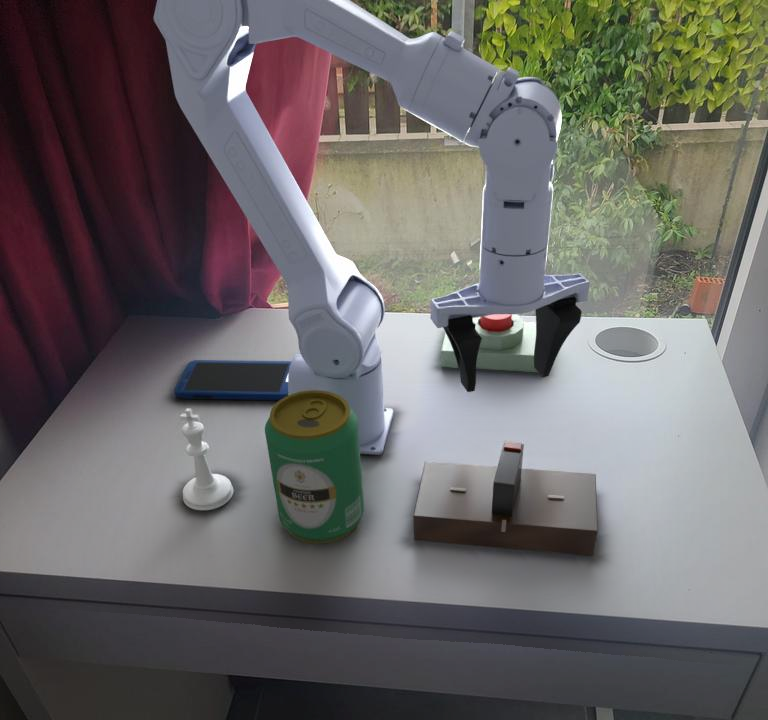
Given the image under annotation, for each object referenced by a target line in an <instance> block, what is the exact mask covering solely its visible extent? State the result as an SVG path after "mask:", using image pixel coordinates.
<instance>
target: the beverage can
mask: <svg viewBox="0 0 768 720" xmlns="http://www.w3.org/2000/svg"><path fill="white" fill-rule="evenodd" d="M264 434H265V441H266V446H267V453H268V458H269V464H270V471H271V477H272V482H273V489H274V495H275V500H276V507H277V513H278V518H279V521H280V523H281V525H282V526H283V527H284V528H285V529H286V531H288V533H289V534H290V535H291V536H293V537H294V538H295V539H297V540H299V541H302V542H305V543H310V544H317V545H318V544H328V543H333V542H337V541H339V540H342V539H344V538H345V537H347V536H348V535H350V534H351V533H352V532H353V531H354V530H355V529H356V528H357V527H358V525H359V522H360V521H361V519H362V517H363V516H364V515H363V514H364V510H365V503H364V502H365V501H364V490H363V489H364V488H363V476H362V475H363V473H362V460H361V454H360V446H359V432H358V420H357V417H356V415H355V413H354V412H353V411H352V410H351V409H350V408H349V405H348V403H347V402H346V400H345V399H343V398H342V397H341V396H339V395H337V394H334V393H331V392H327V391H319V390H309V391H302V392H297V393H294V394H291V395H288V396H286V397H284V398H282V399H281V400H277V402H276V403H275V404H274V405H273V406H272V407H271V409H270V412H269V417H268V418H267V421H266V422H265V425H264Z"/></svg>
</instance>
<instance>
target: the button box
mask: <svg viewBox="0 0 768 720" xmlns="http://www.w3.org/2000/svg"><path fill="white" fill-rule="evenodd" d="M519 315H520V314H512V321H511V328H510V329H508V330H505V331H501V332H494V331H487V330H484V329H482V328H481V326H480V323H481V317H477V318H473V323H475V329H476V331H477V332H478V333H479V334H480V336H481V337H482V340H481V343H480V347H479V351H478V356H477V362H476V370H492V371H510V372H531V373H539V372H538V371H537V370H536V369H535V368H534V350H535V341H536V321H525V320H524V319H523V318H522V317H521V316H519ZM440 367H441V368H454V369H458V364H457V361H456V357H455V354H454V351H453V348H452V346H451V343H450V341H449V339H448V336H447V334H446V332H445V331H444V337H443V341H442V346H441V350H440Z"/></svg>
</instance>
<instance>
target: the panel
mask: <svg viewBox="0 0 768 720" xmlns="http://www.w3.org/2000/svg"><path fill="white" fill-rule="evenodd" d="M423 464H424V465H423V469H422V474H421V478H420V483H419V488H418V492H417V496H416V501H415V506H414V511H413V515H412V519H413V520H412V525H413V540H414V541H418V542H419V541H420V542H428V543H429V542H430V543H442V544H454V545H465V546H474V547H475V546H476V547H485V548H486V547H488V548H496V549H497V548H498V549H499V548H500V549H511V550H520V551H521V550H523V551H532V552H533V551H534V552H544V553H555V554H556V553H557V554H566V555H577V556H578V555H579V556H591V557H593V556H594V555H595V550H596V544H597V538H598V533H599V524H598V522H599V521H598V499H597V474H596V473H592V472H591V473H590V472H576V471H562V470H552V469H551V470H549V469H534V468H523V467H522V470H521V477H520V482H519V486H518V491H517V495H516V500H515V504H514V509H513V513H512V516H506V515H499V514H492V498H493V483H494V478H495V475H496V471H497V467H498V466H493V465H482V464H481V465H480V464H469V463H468V464H467V463H451V462H439V461H426V460H425V461H424V463H423Z"/></svg>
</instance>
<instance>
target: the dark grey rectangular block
mask: <svg viewBox="0 0 768 720" xmlns="http://www.w3.org/2000/svg"><path fill="white" fill-rule="evenodd" d="M524 448H525V444H524V443H523V442H519V441H512V440H511V441H510V440H504V441H503V443H502V448H501V452H500V456H499V460H498V463H497V464H498V465H497V466H496V467H497V471H496V475H495V478H494V483H493V498H492V514H499V515H506V516H512V513H513V509H514V504H515V500H516V495H517V491H518V486H519V482H520V477H521V470H522V468H523V459H524V458H523V457H524Z"/></svg>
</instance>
